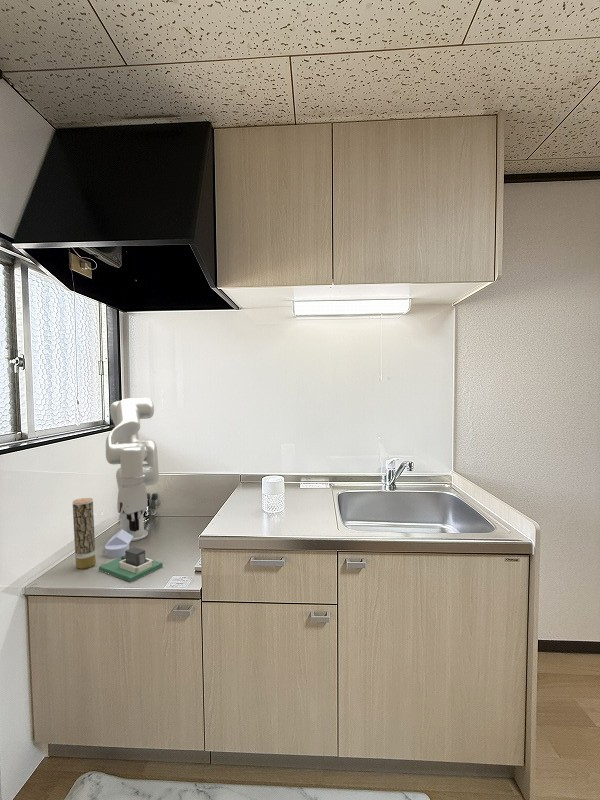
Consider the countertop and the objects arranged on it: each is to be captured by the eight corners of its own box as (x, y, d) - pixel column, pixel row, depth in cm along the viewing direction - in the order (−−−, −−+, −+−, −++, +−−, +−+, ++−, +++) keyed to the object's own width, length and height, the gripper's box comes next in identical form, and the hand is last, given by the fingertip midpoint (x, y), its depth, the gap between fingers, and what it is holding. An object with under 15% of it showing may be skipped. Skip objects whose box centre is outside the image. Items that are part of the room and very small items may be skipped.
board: (99, 570, 167) (98, 561, 167) (131, 556, 179) (130, 547, 179) (131, 582, 157) (130, 572, 157) (162, 566, 169) (162, 557, 169)
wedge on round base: (111, 545, 190) (102, 558, 177) (110, 529, 190) (101, 541, 177) (133, 544, 191) (126, 556, 179) (133, 528, 191) (125, 540, 178)
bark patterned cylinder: (85, 570, 167) (82, 504, 165) (71, 567, 169) (68, 502, 167) (99, 563, 173) (96, 498, 171) (86, 560, 176) (82, 497, 174)
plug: (126, 566, 166) (125, 550, 166) (135, 562, 170) (134, 546, 169) (138, 570, 163) (137, 554, 162) (147, 566, 166) (146, 550, 166)
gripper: (142, 475, 172) (144, 522, 174) (107, 484, 160) (109, 535, 161) (155, 477, 168) (157, 525, 170) (121, 487, 156) (123, 539, 157)
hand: (134, 530), depth 165 cm, fingers closed
